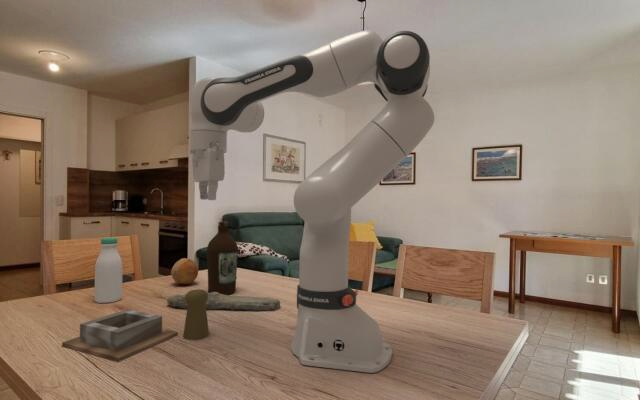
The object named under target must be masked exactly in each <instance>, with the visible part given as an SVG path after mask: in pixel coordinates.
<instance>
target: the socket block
mask: <svg viewBox="0 0 640 400" xmlns="http://www.w3.org/2000/svg"><path fill="white" fill-rule="evenodd" d="M178 335H179V334H178V331H177V330H170V329H166V328H163V316H162V315H158V314H155V313H154V314H153V313H147V312H142V311H139V310H138V311H137V310H133V309H132V310H131V309H124V310H120V311H117V312H114V313H111V314H109V315H108V314H107V315H105V316H101V317H98V318H95V319H92V320H89V321H86V322H82V323H80V324H79V336H78V337H74V338H71V339H69V340H66V341H63V342H61V347H63V348H68V349H71V350H75V351H78V352H82V353H86V354H89V355H94V356H97V357H100V358H104V359H107V360H111V361H115V362H118V363H119V362H121V361H123V360H126V359H127V358H130V357H131V356H134V355H136V354H137V355H138V353H141V352H143V351H145V350H148V349H150V348H153V347H154V346H156V345H159V344H161V343H163V342H165V341H168V340H170V339H172V338H174V337H177V336H178Z"/></svg>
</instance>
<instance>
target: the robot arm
mask: <svg viewBox="0 0 640 400" xmlns="http://www.w3.org/2000/svg"><path fill="white" fill-rule="evenodd" d="M430 58H431V57H430V51H429V47H428V45H427V43H426V41H425V40H424V39H423V37H421V36H420V35H419V34H418V33H416V32H414V31H409V30H400V31H399V30H398V31H396V32H393V33H392V34H389V35H388V36H386V38H385V39H384V40H383V39H382V38H381V36H380V35H379V34H378V33H377V32H376V31H374V30H371V29H364V30H361V31H357V32H353V33H351V34H350V33H349V34H347V35H345V36H344V35H343V36H341V37H339V38H337V39H334V40H332V41H330V42H328V43H325V44H323V45H322V46H321V45H320V46H319V47H317V48H314V49H312V50H310V51H308V52H305V53H304V52H303V53H302V54H298V55H294V56H291V57H288V58H285V59H281V60H279V61H276V62H273V63H271V64H270V63H269V64H267V65H264V66H263V67H260V68H257V69H255V70H253V71H250V72H247V73H245V74H242V75H238V76H233V77H218V78H217V77H205V78H202V79H200V80H198V81H196V82H195V84H194V86H193V88H192V94H191V100H190V117H191V127H190V131H189V132H190V133H189V134H190V136H189V154H191V155H192V156H191V159H192V160H191V161H192V174H193V175H192V176H193V181H194V183H198V189H199V199H200V200H204V201H205V200H208V201H215V200H217V191H218V188H219V182H222V181H224V180H225V154H226V153H227V148H228V147H227V146H228V145H227V144H228V142H227V140H228V138H227V137H228V131H231V130H233V131H236V132H239V133H252V132H254V131H256V130H257V129H259V127H260V126H261V125H262V124H263V121H264V118H265V108H264V106H263V104H262V103H261V102H262V101H265V100H268V99H270V98H272V97H275V96H278V95H280V94H285V93H291V92H292V93H293V92H297V93H303V94H306V95H310V96H312V97H313V96H314V97H316V98H326V97H330V96H334V95H337V94H340V93H342V92H345V91H346V90H349V89H351V88H353V87H356V86H358V85H359V84H363V83H368V82H369V83H370V82H371V83H373V84H374V88H375V90H376V91H377V92H378V93H379V94H380V96H381V97H382V98H383V99H384V100H385V102H386V104H385V105H384V106H383V108H382V109H381V111H379V112H378V114H377V115H376V116H374V118H372V119H371V120H370V121H369V122H368V124H366V125H365V126H364V127H363V128H362V129H361V130H360V131H359V132H358V133H356V135H355V136H354V137H353V138H351V140H350V141H349V142H348V143H347V144H346V145H345V146H343V147H342V148H341V149H340V150H339V151H337V152H336V153H334V154H333V155H332V156H331V157H330V158H328V159H327V160H326V161H324V163H322V164H321V165H320V166H319V167H317V168H316V169H315V170H314V171H312V173H311V174H310V175H308V176H307V177H306V178H305V179H304V180H302V181H301V182H300V183H299V184H298V186H297V187H296V189H295V191H294V195H293V205H294V206H293V207H294V209H295V211H296V213H297V215H298V216H299V218H301V219H302V220H303V221H304V225H303V233H302V240H301V244H300V247H299V248H300V249H299V267H298V268H299V269H298V271H299V276H298V277H299V278H298V279H299V280H298V281H299V283H298V285H297V286H296V287H297V290H296V308H297V315H296V316H297V317H296V324H295V328H294V330H295V331H294V334H293V338H292V342H291V345H290V350H291V352H292V354H294V355H295V356H296V357H297V358H298V360H299V363H300V364H301V365H304V366H309V367H317V368H327V369H335V370H344V371H351V372H352V371H353V372H360V373H369V374H371V373H372V374H373V373H378V372H380V371H381V370H384V369H385V368H386V367H387V366H388V365H389V364H390V362H391V360H392V358H393V349H392V347H391V345H390V344H389V343H388V342H384V341H383V338H382V332H381V328H380V325H379V324H378V322H377V321H376V320H375V319H374V318H373V317H371V316H370V315H369V314H368V313H367V312H366V311H364V309H362V308H361V307H360V306H359V305H358V304H357V296H358V295H359V293H358V291H359V290H358V289H355V290H354V289H352V288H351V287H350V285H349V250H350V238H351V237H350V236H351V223H352V222H351V221H352V207H354V206H355V205H356V204H358V202H360V200H362V198H363V197H365V196H366V195H367V194H369V192H371V190H373V188H375V187H376V186H378V184H379V183H380V182H381V181H382V180H384V179H385V178H386V177H387V176H388V174H389V175H390V173H391V172H392V171H393V170H394V169H395V168H396V167H397V166H398V165H400V163H402V162H403V161H404V160H405V159H406V158H407V157H408V156H409V155H410V154H411V153H412V152H413V151H414V149H416V148H417V147H418V146H419V144H420V143H421V142H422V140H423V139H424V138H425V137H426V136H427V134H428V132H429V131H430V130H431V129H432V127H433V125H434V123H435V112H434V110H433V108H432V106H431V105H430V103H429V102H428V101H427V100H426V99H425V98H424V97H425V95H426V93H427V90H428V84H429V79H430V74H431V72H430V71H431V65H430V60H431V59H430Z"/></svg>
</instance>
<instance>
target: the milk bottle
mask: <svg viewBox="0 0 640 400" xmlns="http://www.w3.org/2000/svg"><path fill="white" fill-rule="evenodd" d="M117 245H118V238H117V237H103V238H101V239H100V246H101V250H100V253H99V255H98V256H97V259H96V261H95V265H94V266H95V267H94V302H95V303H98V304H107V303H115V302H118V301H120V300H121V299H122V298H123V260H122V257H121V256H120V253H119V252H118V249H117Z"/></svg>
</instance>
